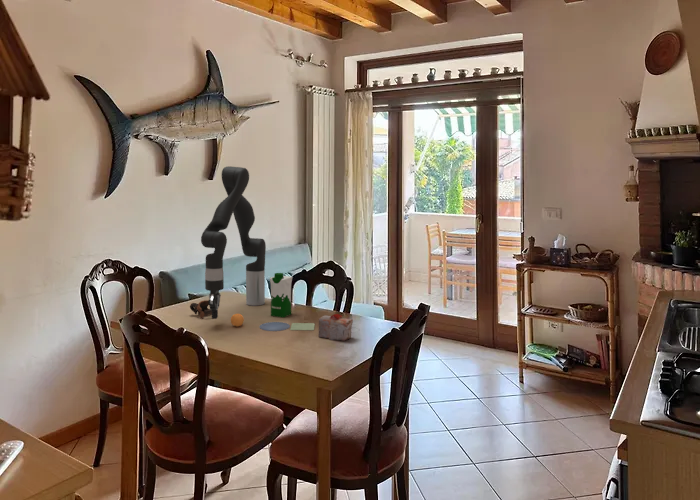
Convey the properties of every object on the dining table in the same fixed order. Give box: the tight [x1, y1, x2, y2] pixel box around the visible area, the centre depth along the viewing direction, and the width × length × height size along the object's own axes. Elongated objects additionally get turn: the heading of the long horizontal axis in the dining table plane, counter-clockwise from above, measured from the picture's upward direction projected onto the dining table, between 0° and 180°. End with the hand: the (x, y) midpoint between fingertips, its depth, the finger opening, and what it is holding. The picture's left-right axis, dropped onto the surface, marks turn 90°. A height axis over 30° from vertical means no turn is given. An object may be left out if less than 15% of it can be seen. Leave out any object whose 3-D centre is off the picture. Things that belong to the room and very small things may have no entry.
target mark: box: [258, 321, 291, 332], centre depth 221 cm, size 13×13×1 cm
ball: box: [230, 313, 245, 327], centre depth 220 cm, size 6×6×6 cm
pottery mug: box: [189, 299, 212, 319], centre depth 235 cm, size 12×10×8 cm
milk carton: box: [269, 272, 293, 319], centre depth 239 cm, size 9×9×20 cm
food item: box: [317, 313, 354, 342], centre depth 207 cm, size 14×8×10 cm, turn 67°
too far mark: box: [289, 322, 316, 331], centre depth 222 cm, size 10×10×1 cm
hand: (214, 318), depth 219 cm, fingers closed
